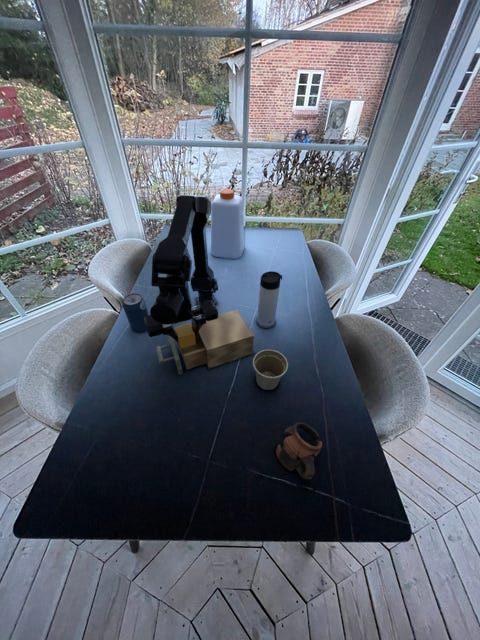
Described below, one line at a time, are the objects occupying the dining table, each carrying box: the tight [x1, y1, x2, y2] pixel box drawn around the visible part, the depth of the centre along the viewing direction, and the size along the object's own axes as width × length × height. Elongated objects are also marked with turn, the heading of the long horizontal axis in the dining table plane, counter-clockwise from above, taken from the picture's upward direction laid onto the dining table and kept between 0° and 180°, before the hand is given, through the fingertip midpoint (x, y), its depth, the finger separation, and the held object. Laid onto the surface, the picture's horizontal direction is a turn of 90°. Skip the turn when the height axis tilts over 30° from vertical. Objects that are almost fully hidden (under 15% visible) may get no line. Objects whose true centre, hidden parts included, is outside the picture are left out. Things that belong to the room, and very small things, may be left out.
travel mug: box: [256, 270, 283, 329], centre depth 88 cm, size 6×7×20 cm
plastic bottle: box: [210, 188, 245, 260], centre depth 121 cm, size 15×15×28 cm
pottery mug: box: [275, 421, 323, 480], centre depth 60 cm, size 12×10×8 cm
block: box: [174, 322, 196, 348], centre depth 75 cm, size 4×4×4 cm
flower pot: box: [252, 349, 289, 391], centre depth 74 cm, size 9×9×9 cm
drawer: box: [155, 333, 208, 376], centre depth 79 cm, size 18×11×7 cm, turn 114°
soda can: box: [122, 293, 150, 332], centre depth 88 cm, size 7×7×12 cm
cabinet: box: [198, 309, 255, 369], centre depth 83 cm, size 15×13×9 cm
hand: (185, 338), depth 76 cm, fingers closed on block, 4 cm apart
